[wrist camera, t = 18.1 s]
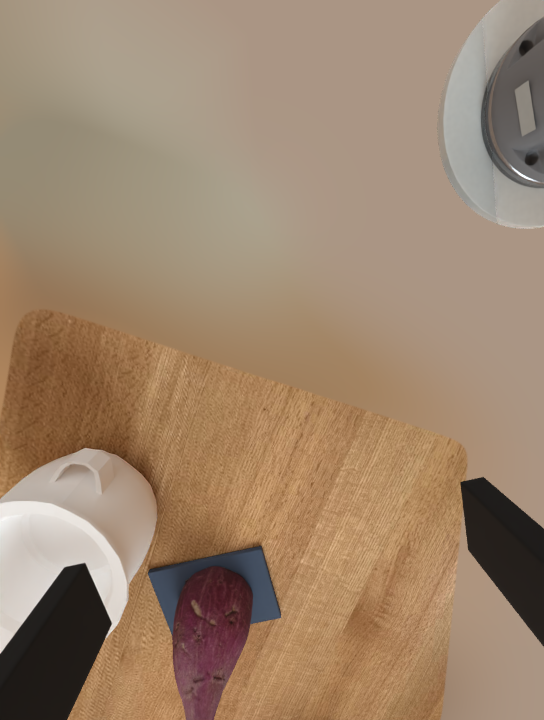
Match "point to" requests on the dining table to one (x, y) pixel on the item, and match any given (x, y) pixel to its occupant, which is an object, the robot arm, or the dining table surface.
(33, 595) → the pot
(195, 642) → the vegetable
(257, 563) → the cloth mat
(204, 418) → the dining table surface
